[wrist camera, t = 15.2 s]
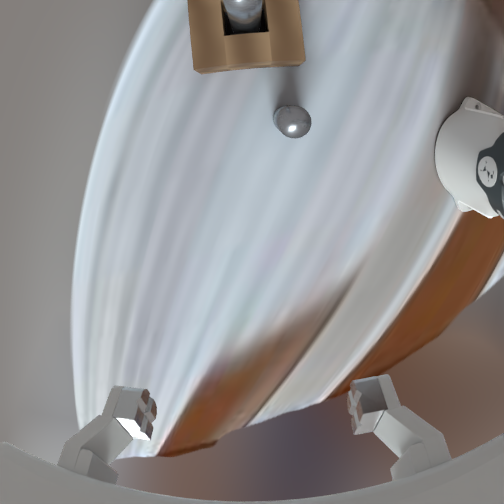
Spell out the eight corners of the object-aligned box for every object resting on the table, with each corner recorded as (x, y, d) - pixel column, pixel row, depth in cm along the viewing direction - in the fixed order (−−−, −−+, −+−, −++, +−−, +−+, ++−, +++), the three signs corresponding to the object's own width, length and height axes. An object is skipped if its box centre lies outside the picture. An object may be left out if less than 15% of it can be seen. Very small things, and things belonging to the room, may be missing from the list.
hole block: (289, -13, 25) (293, -28, 20) (298, 66, 30) (305, 60, 26) (194, -5, 25) (186, -18, 21) (201, 74, 31) (193, 69, 26)
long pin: (258, 13, 27) (261, -32, 14) (261, 37, 28) (265, 0, 16) (230, 16, 27) (217, -28, 15) (232, 39, 29) (220, 4, 16)
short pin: (300, 105, 33) (310, 105, 27) (301, 131, 34) (312, 137, 28) (272, 106, 33) (276, 106, 27) (274, 133, 35) (278, 139, 28)
